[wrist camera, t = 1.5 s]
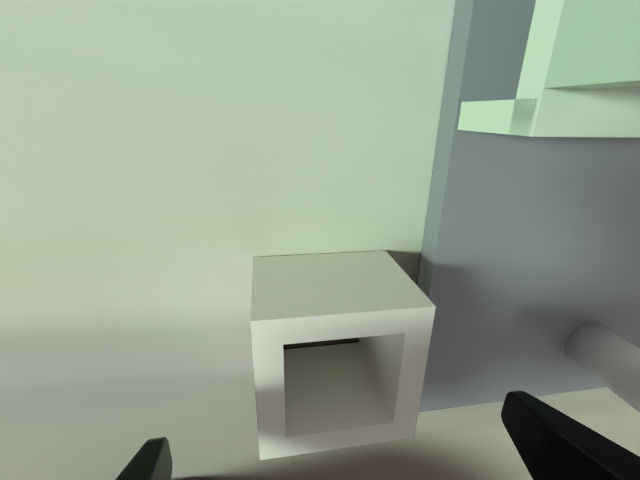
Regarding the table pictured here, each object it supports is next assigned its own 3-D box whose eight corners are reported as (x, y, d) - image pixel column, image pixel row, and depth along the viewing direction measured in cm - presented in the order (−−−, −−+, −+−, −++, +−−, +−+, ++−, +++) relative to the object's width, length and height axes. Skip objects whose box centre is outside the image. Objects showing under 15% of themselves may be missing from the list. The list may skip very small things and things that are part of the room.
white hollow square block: (375, 355, 15) (414, 437, 11) (259, 367, 14) (259, 460, 10) (385, 250, 13) (435, 306, 9) (253, 257, 12) (250, 321, 8)
